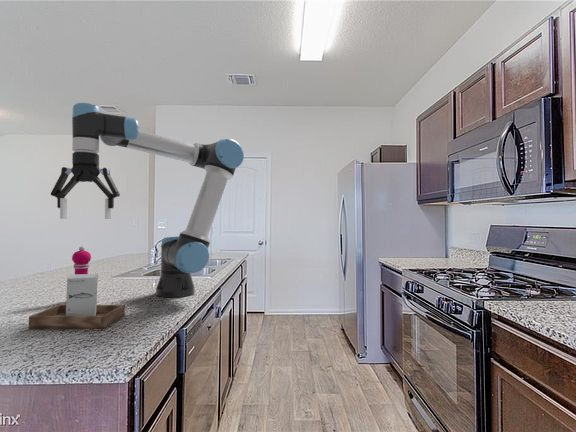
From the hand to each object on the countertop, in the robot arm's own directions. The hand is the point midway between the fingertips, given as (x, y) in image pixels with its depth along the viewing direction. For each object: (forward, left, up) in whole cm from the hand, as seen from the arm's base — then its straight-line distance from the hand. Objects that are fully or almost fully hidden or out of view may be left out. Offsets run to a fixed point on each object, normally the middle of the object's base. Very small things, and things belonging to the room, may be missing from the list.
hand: (85, 218), depth 117 cm
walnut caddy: (-5, +11, -30) cm, 32 cm away
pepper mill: (+8, -15, -30) cm, 35 cm away
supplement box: (-5, +11, -29) cm, 32 cm away
